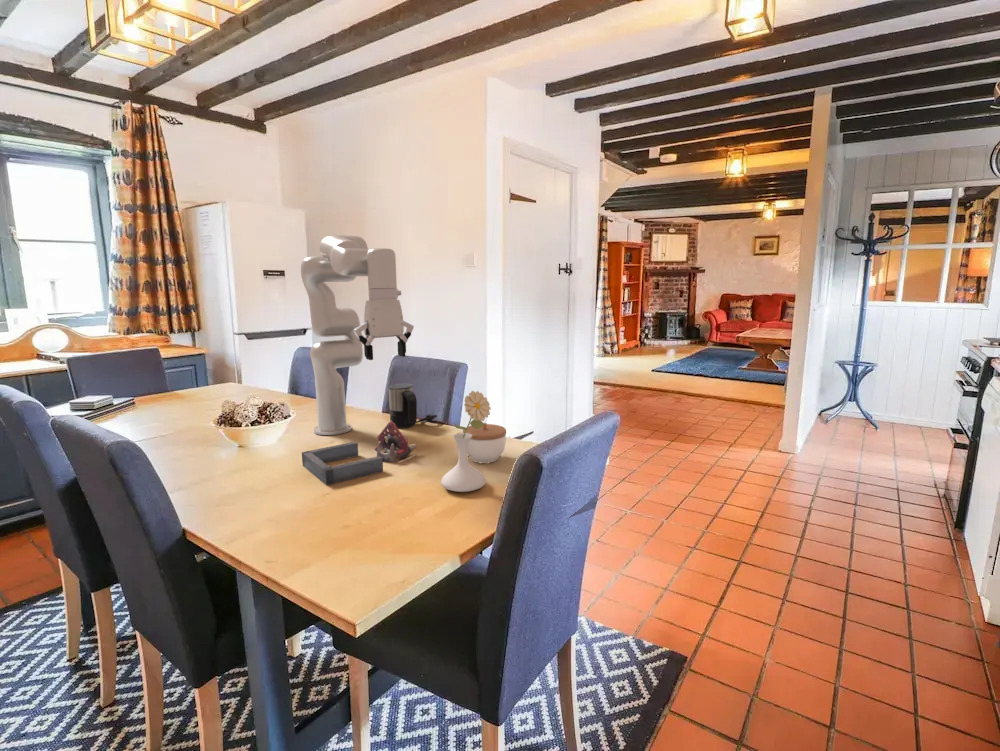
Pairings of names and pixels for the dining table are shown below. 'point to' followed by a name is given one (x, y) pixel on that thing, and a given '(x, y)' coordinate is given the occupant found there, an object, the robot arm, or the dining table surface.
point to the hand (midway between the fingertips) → (385, 357)
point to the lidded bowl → (486, 442)
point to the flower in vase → (463, 472)
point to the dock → (343, 472)
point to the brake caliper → (393, 444)
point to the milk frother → (404, 406)
